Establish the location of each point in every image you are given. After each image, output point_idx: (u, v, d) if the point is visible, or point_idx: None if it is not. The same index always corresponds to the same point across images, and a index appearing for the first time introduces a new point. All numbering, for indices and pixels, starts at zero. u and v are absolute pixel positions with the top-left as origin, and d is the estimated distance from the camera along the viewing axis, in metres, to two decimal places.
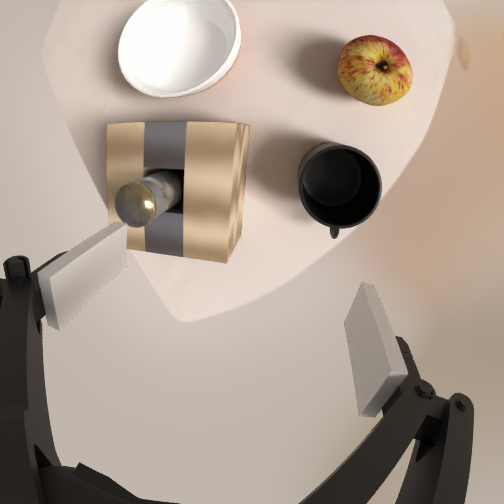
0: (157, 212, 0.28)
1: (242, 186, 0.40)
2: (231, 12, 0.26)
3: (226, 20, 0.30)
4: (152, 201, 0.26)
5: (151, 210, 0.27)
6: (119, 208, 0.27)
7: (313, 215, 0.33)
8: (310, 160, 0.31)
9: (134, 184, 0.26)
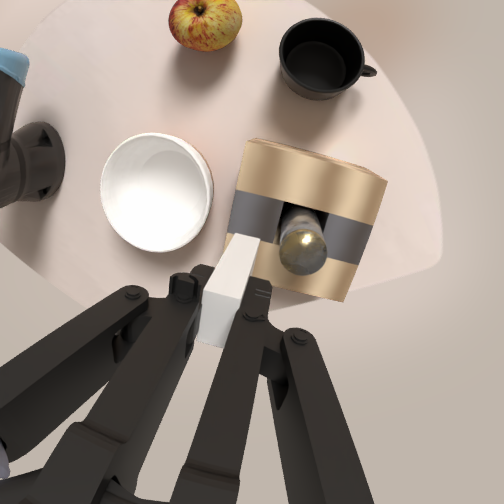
0: (317, 231, 0.27)
1: (316, 154, 0.37)
2: (135, 139, 0.34)
3: (144, 148, 0.39)
4: (303, 231, 0.26)
5: (312, 235, 0.26)
6: (302, 270, 0.28)
7: (349, 84, 0.27)
8: (292, 78, 0.28)
9: (281, 247, 0.27)
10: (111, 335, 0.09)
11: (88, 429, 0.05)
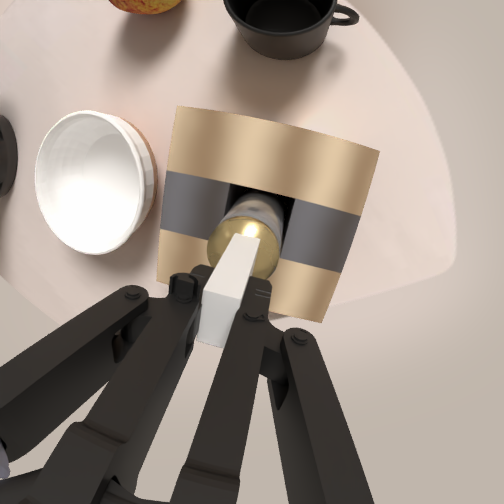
0: (264, 220, 0.18)
1: None
2: (65, 121, 0.25)
3: (85, 133, 0.30)
4: (238, 219, 0.17)
5: (254, 225, 0.17)
6: None
7: (317, 23, 0.18)
8: (239, 21, 0.18)
9: (209, 243, 0.18)
10: (110, 335, 0.09)
11: (88, 429, 0.05)
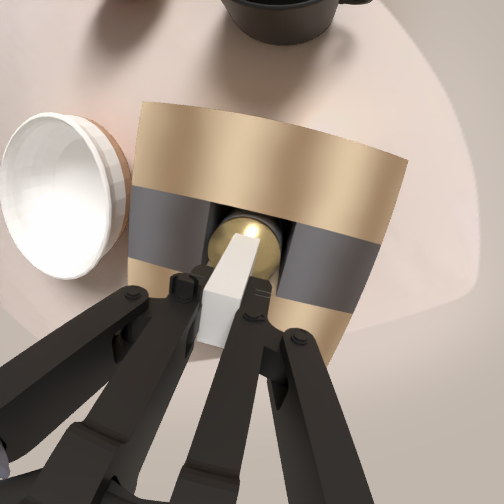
0: (265, 220, 0.18)
1: None
2: (26, 125, 0.19)
3: (53, 138, 0.25)
4: (239, 220, 0.17)
5: (255, 225, 0.17)
6: None
7: None
8: None
9: (210, 244, 0.18)
10: (111, 335, 0.09)
11: (88, 430, 0.05)
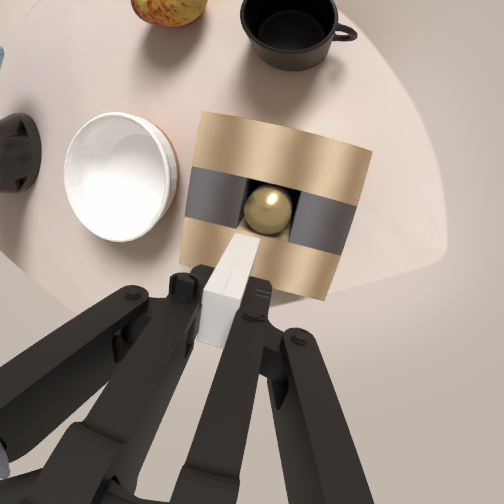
0: (281, 190, 0.28)
1: None
2: (95, 121, 0.29)
3: (111, 132, 0.35)
4: (266, 188, 0.27)
5: (275, 192, 0.27)
6: (267, 229, 0.28)
7: (321, 42, 0.22)
8: (255, 40, 0.23)
9: (246, 204, 0.28)
10: (111, 335, 0.09)
11: (88, 429, 0.05)
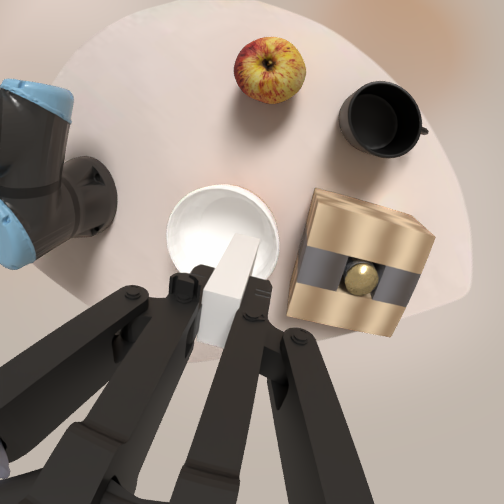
0: (371, 264, 0.36)
1: (370, 205, 0.40)
2: (204, 191, 0.38)
3: (207, 195, 0.43)
4: (362, 265, 0.35)
5: (369, 267, 0.35)
6: (360, 292, 0.37)
7: (408, 149, 0.30)
8: (360, 142, 0.31)
9: (347, 275, 0.36)
10: (111, 335, 0.09)
11: (88, 430, 0.05)
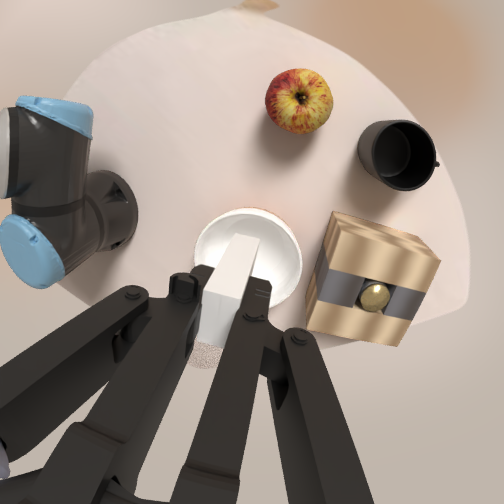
0: (384, 283, 0.40)
1: (382, 228, 0.44)
2: (233, 215, 0.41)
3: None
4: (377, 285, 0.39)
5: (382, 287, 0.39)
6: (373, 308, 0.40)
7: (422, 183, 0.34)
8: (381, 177, 0.35)
9: (363, 294, 0.40)
10: (111, 335, 0.09)
11: (88, 429, 0.05)
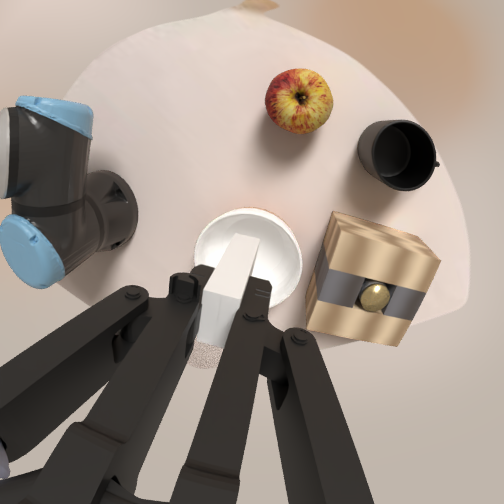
0: (384, 283, 0.40)
1: (382, 228, 0.44)
2: (233, 215, 0.41)
3: None
4: (377, 285, 0.39)
5: (382, 287, 0.39)
6: (373, 308, 0.40)
7: (422, 183, 0.34)
8: (381, 177, 0.35)
9: (363, 294, 0.40)
10: (111, 335, 0.09)
11: (88, 429, 0.05)
